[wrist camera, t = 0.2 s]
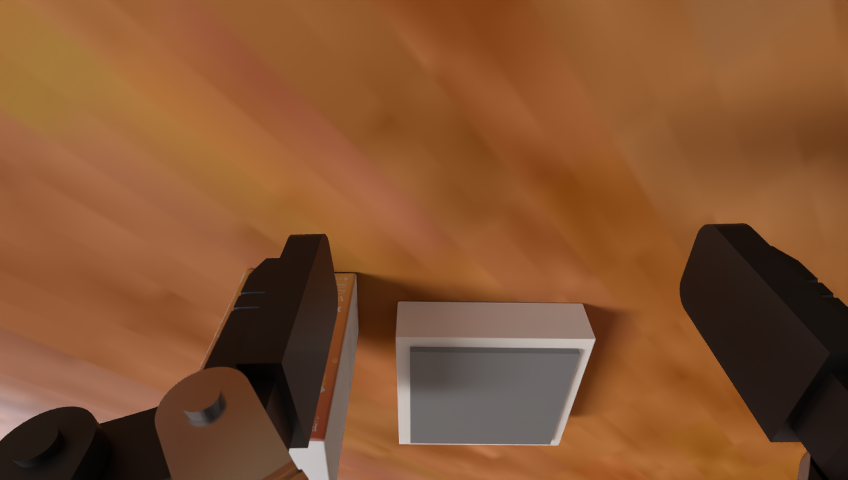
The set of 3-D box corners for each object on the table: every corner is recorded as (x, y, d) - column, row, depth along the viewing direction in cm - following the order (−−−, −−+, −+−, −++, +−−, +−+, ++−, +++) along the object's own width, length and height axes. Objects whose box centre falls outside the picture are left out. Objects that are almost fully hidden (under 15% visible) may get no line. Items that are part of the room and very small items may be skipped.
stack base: (397, 301, 36) (395, 342, 33) (582, 303, 36) (597, 344, 33) (400, 408, 44) (398, 449, 41) (549, 409, 44) (559, 450, 41)
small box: (357, 270, 34) (328, 441, 24) (360, 330, 38) (336, 500, 27) (243, 266, 34) (163, 437, 23) (257, 326, 38) (194, 497, 27)
